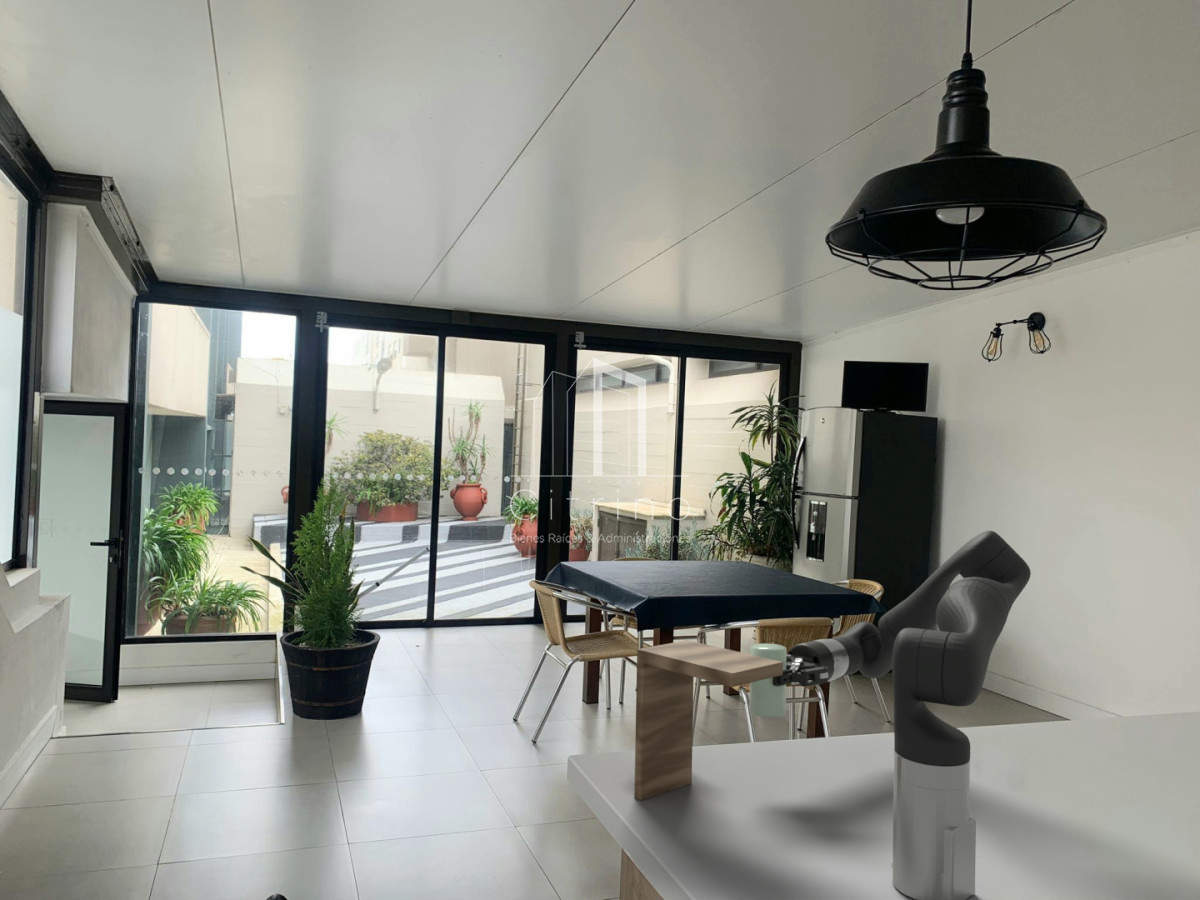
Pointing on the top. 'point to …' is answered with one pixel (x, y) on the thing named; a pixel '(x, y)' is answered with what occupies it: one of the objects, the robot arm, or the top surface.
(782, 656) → the pillar candle
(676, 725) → the overhanging shelf
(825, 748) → the top surface
